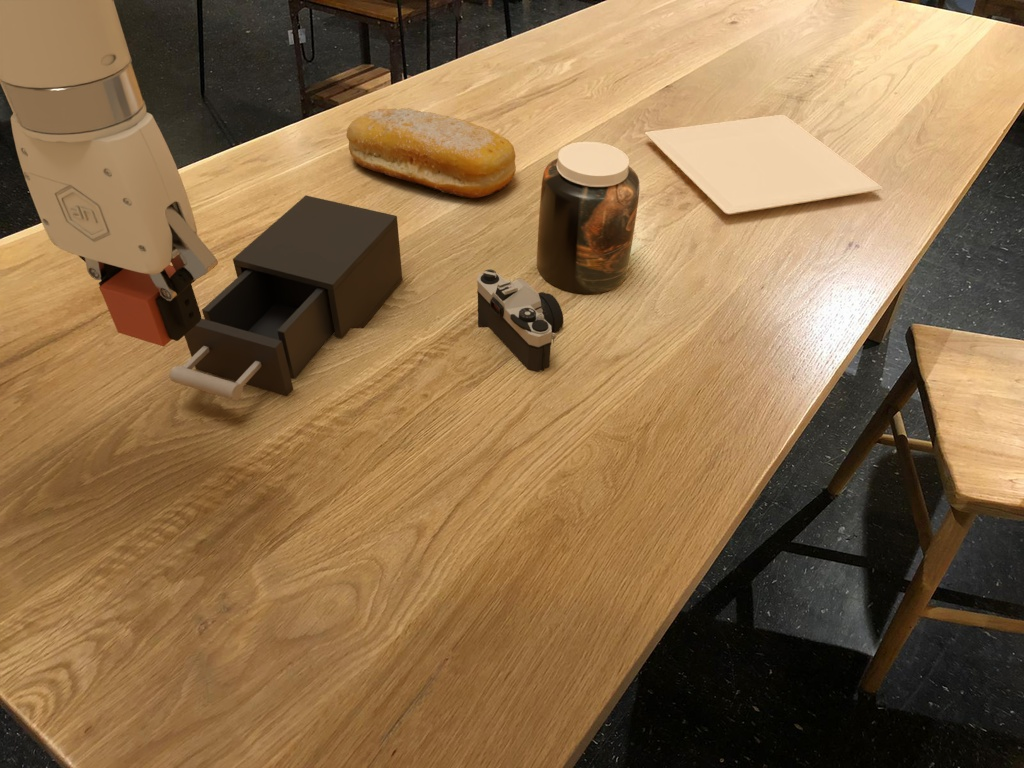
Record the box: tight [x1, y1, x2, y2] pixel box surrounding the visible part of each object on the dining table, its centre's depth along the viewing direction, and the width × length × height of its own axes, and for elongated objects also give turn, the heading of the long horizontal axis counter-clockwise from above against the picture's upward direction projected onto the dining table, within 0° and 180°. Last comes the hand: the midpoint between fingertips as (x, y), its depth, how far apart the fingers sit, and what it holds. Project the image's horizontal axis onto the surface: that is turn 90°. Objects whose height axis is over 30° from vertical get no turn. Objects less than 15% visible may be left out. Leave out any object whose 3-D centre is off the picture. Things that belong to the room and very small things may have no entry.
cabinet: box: [232, 195, 403, 340], centre depth 88 cm, size 15×12×9 cm
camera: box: [476, 269, 564, 373], centre depth 84 cm, size 13×8×9 cm, turn 34°
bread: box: [346, 107, 517, 199], centre depth 112 cm, size 13×26×8 cm, turn 64°
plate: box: [644, 114, 883, 216], centre depth 117 cm, size 26×26×2 cm
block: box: [98, 264, 176, 347], centre depth 59 cm, size 4×4×4 cm
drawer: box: [169, 268, 335, 401], centre depth 79 cm, size 18×11×7 cm, turn 160°
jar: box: [536, 141, 640, 295], centre depth 92 cm, size 12×12×15 cm
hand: (158, 319), depth 60 cm, fingers closed on block, 4 cm apart
